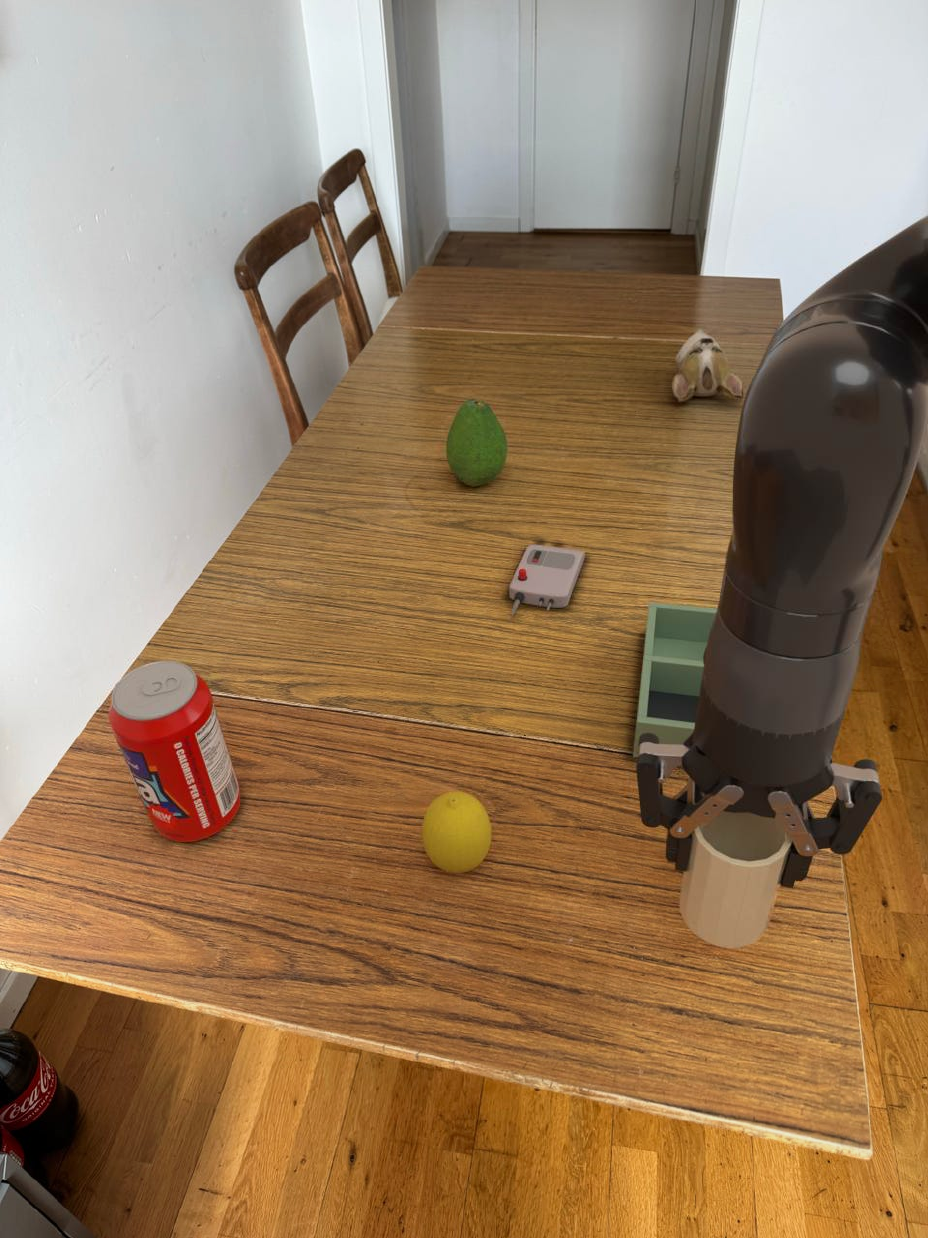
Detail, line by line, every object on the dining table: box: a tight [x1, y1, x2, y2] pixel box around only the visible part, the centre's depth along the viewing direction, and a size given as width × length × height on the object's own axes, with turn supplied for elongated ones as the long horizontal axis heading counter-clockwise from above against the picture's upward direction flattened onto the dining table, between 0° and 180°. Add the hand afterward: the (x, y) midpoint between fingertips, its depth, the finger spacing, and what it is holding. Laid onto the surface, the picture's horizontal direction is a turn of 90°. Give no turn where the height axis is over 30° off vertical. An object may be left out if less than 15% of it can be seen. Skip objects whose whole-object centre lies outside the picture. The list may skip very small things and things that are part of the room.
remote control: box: [508, 543, 586, 617], centre depth 101 cm, size 7×16×3 cm, turn 162°
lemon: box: [421, 790, 493, 874], centre depth 70 cm, size 6×6×8 cm
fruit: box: [445, 398, 508, 488], centre depth 116 cm, size 8×8×12 cm
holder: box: [632, 601, 717, 759], centre depth 85 cm, size 17×9×5 cm, turn 167°
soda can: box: [108, 660, 242, 843], centre depth 74 cm, size 8×8×15 cm
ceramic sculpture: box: [670, 328, 744, 403], centre depth 136 cm, size 11×9×15 cm
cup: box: [678, 811, 792, 949], centre depth 58 cm, size 6×6×9 cm
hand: (733, 867), depth 58 cm, fingers closed on cup, 6 cm apart
